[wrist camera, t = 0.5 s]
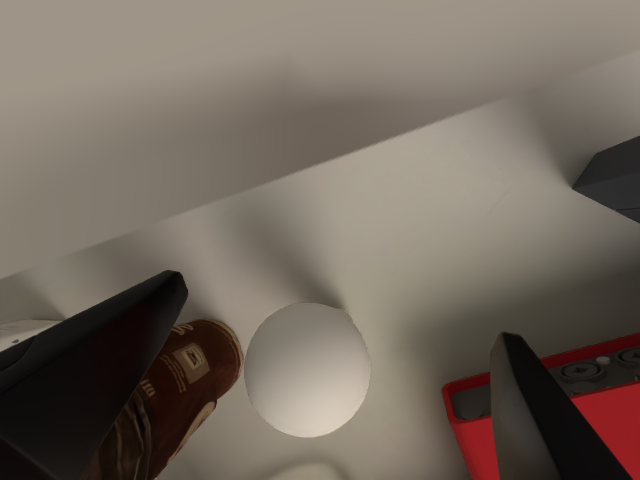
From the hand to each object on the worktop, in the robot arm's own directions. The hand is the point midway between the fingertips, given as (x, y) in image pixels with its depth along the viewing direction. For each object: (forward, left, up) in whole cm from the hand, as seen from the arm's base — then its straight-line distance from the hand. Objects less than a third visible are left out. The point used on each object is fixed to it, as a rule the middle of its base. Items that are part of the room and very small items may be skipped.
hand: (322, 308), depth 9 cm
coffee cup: (-2, +15, -15) cm, 21 cm away
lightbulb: (-3, +4, -15) cm, 16 cm away
